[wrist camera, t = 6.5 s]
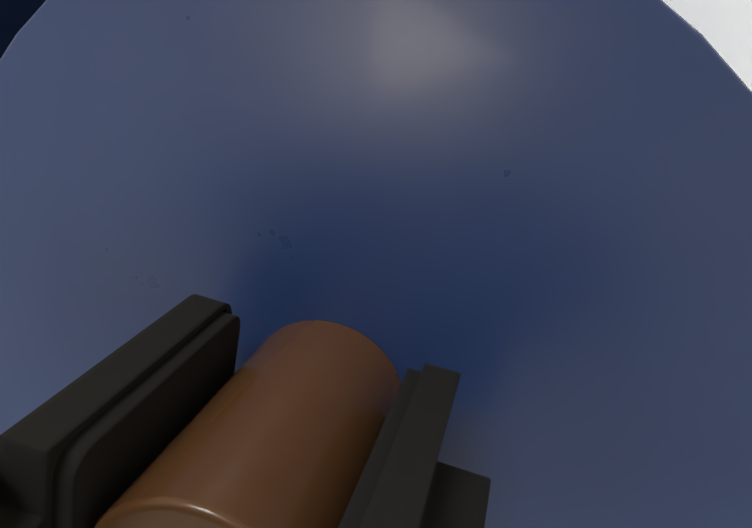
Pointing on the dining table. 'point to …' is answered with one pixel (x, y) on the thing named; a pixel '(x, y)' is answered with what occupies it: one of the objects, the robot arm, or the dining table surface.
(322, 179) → the pot lid
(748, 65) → the dining table surface
